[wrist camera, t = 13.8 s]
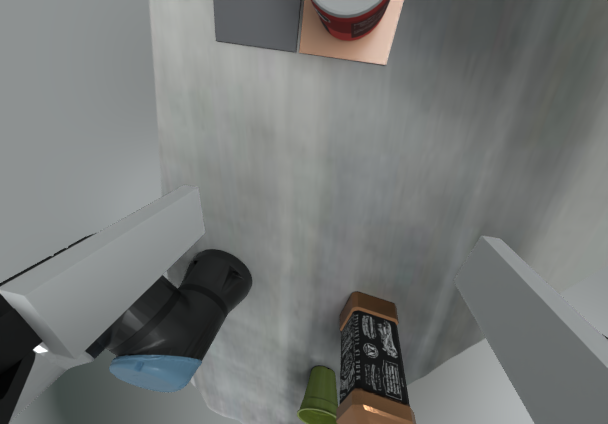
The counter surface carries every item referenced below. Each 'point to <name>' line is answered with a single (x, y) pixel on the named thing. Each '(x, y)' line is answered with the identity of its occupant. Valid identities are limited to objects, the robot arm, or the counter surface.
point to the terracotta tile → (362, 49)
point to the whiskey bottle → (371, 364)
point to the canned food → (350, 16)
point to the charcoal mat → (258, 23)
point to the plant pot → (320, 398)
